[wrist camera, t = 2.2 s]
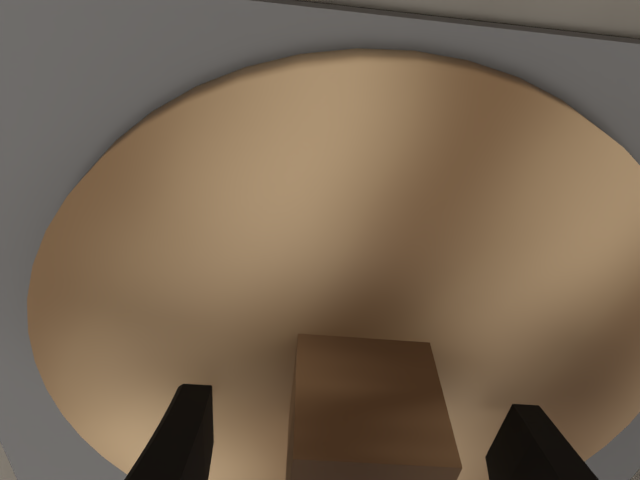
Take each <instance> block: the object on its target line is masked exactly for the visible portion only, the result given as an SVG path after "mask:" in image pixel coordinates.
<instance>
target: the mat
mask: <svg viewBox="0 0 640 480" xmlns="http://www.w3.org/2000/svg"><path fill="white" fill-rule="evenodd" d="M355 48H361V49H387V50H413V51H419V52H425V53H430V54H436V55H441V56H447V57H452V58H458V59H464V60H469V61H472V62H474V63H477V64H480V65H483V66H486V67H489V68H492V69H495V70H498V71H501V72H504V73H507V74H510V75H513V76H516V77H519V78H521V79H523V80H524V81H526V82H528V83H530V84H532V85H534V86H536V87H538V88H540V89H542V90H544V91H546V92H548V93H549V94H551V95H553V96H555V97H557V98H559V99H561V100H562V101H564V102H565V103H566V104H568V105H569V106H570V107H572V108H573V109H574V110H576V111H577V112H578V113H580V114H581V115H582V116H584V117H585V118H586V119H588V120H589V121H590V122H592V123H593V124H594V125H596V126H597V127H598V128H600V129H601V130H602V131H603V132H605V133H606V134H607V135H608V136H610V137H611V138H612V139H613V140H615V141H616V142H617V143H618V144H620V145H621V146H622V147H624V148H625V150H626V151H627V152H628V153H629V154H630V155H631V156H632V157H633V158H634V159H635V160H636V162H637V163H638V164H639V165H640V39H633V38H624V37H615V36H607V35H598V34H589V33H580V32H571V31H562V30H554V29H545V28H536V27H527V26H518V25H509V24H500V23H492V22H483V21H474V20H465V19H456V18H447V17H439V16H430V15H421V14H412V13H403V12H394V11H385V10H377V9H368V8H359V7H350V6H341V5H332V4H324V3H315V2H306V1H297V0H0V442H1V444H2V447H3V449H4V451H5V453H6V456H7V458H8V460H9V462H10V465H11V467H12V469H13V471H14V474H15V476H16V478H17V480H124V479H125V478H126V476H127V474H126V473H124V472H123V471H121V470H120V469H119V468H117V467H116V466H115V465H113V464H112V463H110V462H109V461H108V460H106V459H105V458H104V457H102V456H101V455H100V454H99V453H98V452H97V451H96V450H95V449H94V448H93V447H92V446H90V445H89V444H88V443H87V442H86V441H85V440H84V439H83V438H82V437H81V436H80V435H79V434H78V433H77V431H76V430H75V429H74V428H73V427H72V426H71V424H70V423H69V422H68V421H67V420H66V418H65V417H64V416H63V415H62V413H61V412H60V410H59V409H58V407H57V405H56V404H55V402H54V401H53V399H52V397H51V396H50V394H49V393H48V391H47V389H46V387H45V385H44V382H43V380H42V378H41V375H40V373H39V370H38V368H37V366H36V363H35V360H34V356H33V351H32V347H31V343H30V338H29V334H28V317H27V296H28V290H29V284H30V278H31V272H32V266H33V263H34V260H35V258H36V255H37V253H38V250H39V247H40V245H41V242H42V239H43V237H44V234H45V231H46V230H47V228H48V226H49V225H50V223H51V222H52V220H53V218H54V217H55V215H56V213H57V212H58V210H59V209H60V207H61V205H62V204H63V202H64V200H65V199H66V197H67V196H68V195H69V193H70V192H71V191H72V190H73V189H74V188H75V186H76V185H77V184H78V183H79V182H80V180H81V179H82V178H83V177H84V176H85V175H86V173H87V172H88V171H89V170H90V169H91V168H92V167H93V166H94V164H95V163H96V162H97V161H98V160H99V159H100V158H101V157H102V156H103V154H104V153H105V152H106V151H107V150H108V149H109V148H110V147H111V145H112V144H113V143H114V142H115V141H116V140H117V139H119V138H120V137H121V136H122V135H124V134H125V133H126V132H127V131H129V130H130V129H131V128H132V127H134V126H135V125H136V124H137V123H139V122H140V121H141V120H142V119H144V118H145V117H146V116H147V115H149V114H150V113H151V112H152V111H154V110H156V109H158V108H159V107H161V106H163V105H165V104H166V103H168V102H170V101H172V100H173V99H175V98H177V97H179V96H180V95H182V94H184V93H186V92H187V91H189V90H191V89H192V88H194V87H196V86H199V85H201V84H204V83H206V82H209V81H211V80H214V79H216V78H219V77H221V76H224V75H227V74H229V73H232V72H234V71H237V70H239V69H242V68H244V67H248V66H252V65H256V64H260V63H264V62H269V61H273V60H277V59H281V58H285V57H289V56H294V55H298V54H305V53H315V52H325V51H335V50H345V49H355ZM585 463H586V464H587V466H588V467H589V468H590V469H591V471H592V472H593V473H594V474H595V475H596V477H597V478H598V479H599V480H630V479H631V478H632V477H633V476H634V474H635V473H636V472H637V471H638V470H639V469H640V412H639V413H638V414H637V416H636V417H635V418H634V419H633V420H632V421H631V423H630V424H629V425H628V426H627V427H626V428H624V429H623V430H622V431H621V432H620V433H619V434H618V435H617V436H616V437H615V438H614V439H613V440H612V441H610V442H609V443H608V444H607V445H606V446H605V447H603V448H602V449H601V450H599V451H598V452H597V453H595V454H594V455H593V456H591V457H590V458H589V459H587V460H586V461H585Z"/></svg>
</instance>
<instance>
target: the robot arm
mask: <svg viewBox="0 0 640 480" xmlns="http://www.w3.org/2000/svg"><path fill="white" fill-rule="evenodd" d="M213 445H214V430H213V397H212V385H197V384H182V385H180V386H179V387H178V388H177V390H176V393H175V395H174V397H173V399H172V401H171V403H170V405H169V407H168V408H167V410H166V412H165V414H164V416H163V418H162V419H161V421H160V423H159V425H158V427H157V428H156V430H155V432H154V433H153V435H152V437H151V438H150V440H149V442H148V443H147V445H146V447H145V448H144V450H143V451H142V453H141V455H140V456H139V458H138V459H137V461H136V462H135V464H134V465H133V467H132V469H131V470H130V472H129V473H128V475H127V476H126V478H125V479H124V480H208V477H209V471H210V465H211V458H212V451H213ZM485 459H486V464H487V470H488V476H489V480H599V479H598V478H597V477H596V475H595V474H594V473H593V472H592V471H591V469H590V468H589V467H588V466H587V464H586V463H585V462H584V461H583V459H582V458H581V457H580V456H579V455H578V453H577V452H576V451H575V450H574V448H573V447H572V446H571V445H570V443H569V442H568V441H567V440H566V438H565V437H564V436H563V435H562V433H561V432H560V431H559V430H558V428H557V427H556V426H555V425H554V423H553V422H552V421H551V420H550V418H549V417H548V416H547V415H546V413H545V412H544V411H543V410H542V408H541V407H540V406H539V405H524V404H512V405H511V407H510V409H509V411H508V413H507V415H506V417H505V419H504V421H503V423H502V425H501V427H500V429H499V431H498V433H497V435H496V437H495V439H494V441H493V443H492V445H491V446H490V448H489V450H488V452H487V454H486V456H485Z"/></svg>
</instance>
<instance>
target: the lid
mask: <svg viewBox="0 0 640 480" xmlns="http://www.w3.org/2000/svg"><path fill="white" fill-rule="evenodd" d="M27 317H28V334H29V338H30V343H31V347H32V351H33V356H34V360H35V363H36V366H37V368H38V370H39V373H40V375H41V378H42V380H43V382H44V385H45V387H46V389H47V391H48V393H49V394H50V396H51V397H52V399H53V401H54V402H55V404H56V405H57V407H58V409H59V410H60V412H61V413H62V415H63V416H64V417H65V418H66V420H67V421H68V422H69V423H70V424H71V426H72V427H73V428H74V429H75V430H76V431H77V433H78V434H79V435H80V436H81V437H82V438H83V439H84V440H85V441H86V442H87V443H88V444H89V445H90V446H92V447H93V448H94V449H95V450H96V451H97V452H98V453H99V454H100V455H101V456H102V457H104V458H105V459H106V460H108V461H109V462H110V463H112V464H113V465H115V466H116V467H117V468H119V469H120V470H121V471H123V472H124V473H126V474H127V475H128V473H129V472H130V470H131V469H132V467H133V465H134V464H135V462H136V461H137V459H138V458H139V456H140V455H141V453H142V451H143V450H144V448H145V447H146V445H147V443H148V442H149V440H150V438H151V437H152V435H153V433H154V432H155V430H156V428H157V427H158V425H159V423H160V421H161V419H162V418H163V416H164V414H165V412H166V410H167V408H168V407H169V405H170V403H171V401H172V399H173V397H174V395H175V393H176V390H177V388H178V387H179V386H180V385H182V384H197V385H212V397H213V430H214V445H213V451H212V458H211V465H210V471H209V477H208V480H489V476H488V470H487V464H486V459H485V456H486V454H487V452H488V450H489V448H490V446H491V445H492V443H493V441H494V439H495V437H496V435H497V433H498V431H499V429H500V427H501V425H502V423H503V421H504V419H505V417H506V415H507V413H508V411H509V409H510V407H511V405H512V404H524V405H539V406H540V407H541V408H542V410H543V411H544V412H545V413H546V415H547V416H548V417H549V418H550V420H551V421H552V422H553V423H554V425H555V426H556V427H557V428H558V430H559V431H560V432H561V433H562V435H563V436H564V437H565V438H566V440H567V441H568V442H569V443H570V445H571V446H572V447H573V448H574V450H575V451H576V452H577V453H578V455H579V456H580V457H581V458H582V459H583V461H584V462H585V461H586V460H587V459H589V458H590V457H591V456H593V455H594V454H595V453H597V452H598V451H599V450H601V449H602V448H603V447H605V446H606V445H607V444H608V443H609V442H610V441H612V440H613V439H614V438H615V437H616V436H617V435H618V434H619V433H620V432H621V431H622V430H623V429H624V428H626V427H627V426H628V425H629V424H630V423H631V421H632V420H633V419H634V418H635V417H636V416H637V414H638V413H639V412H640V165H639V164H638V163H637V162H636V160H635V159H634V158H633V157H632V156H631V155H630V154H629V153H628V152H627V151H626V150H625V148H624V147H622V146H621V145H620V144H618V143H617V142H616V141H615V140H613V139H612V138H611V137H610V136H608V135H607V134H606V133H605V132H603V131H602V130H601V129H600V128H598V127H597V126H596V125H594V124H593V123H592V122H590V121H589V120H588V119H586V118H585V117H584V116H582V115H581V114H580V113H578V112H577V111H576V110H574V109H573V108H572V107H570V106H569V105H568V104H566V103H565V102H564V101H562V100H561V99H559V98H557V97H555V96H553V95H551V94H549V93H548V92H546V91H544V90H542V89H540V88H538V87H536V86H534V85H532V84H530V83H528V82H526V81H524V80H523V79H521V78H519V77H516V76H513V75H510V74H507V73H504V72H501V71H498V70H495V69H492V68H489V67H486V66H483V65H480V64H477V63H474V62H472V61H469V60H464V59H458V58H452V57H447V56H441V55H436V54H430V53H425V52H419V51H413V50H387V49H361V48H355V49H345V50H335V51H325V52H315V53H305V54H298V55H294V56H289V57H285V58H281V59H277V60H273V61H269V62H264V63H260V64H256V65H252V66H248V67H244V68H242V69H239V70H237V71H234V72H232V73H229V74H227V75H224V76H221V77H219V78H216V79H214V80H211V81H209V82H206V83H204V84H201V85H199V86H196V87H194V88H192V89H191V90H189V91H187V92H186V93H184V94H182V95H180V96H179V97H177V98H175V99H173V100H172V101H170V102H168V103H166V104H165V105H163V106H161V107H159V108H158V109H156V110H154V111H152V112H151V113H150V114H149V115H147V116H146V117H145V118H144V119H142V120H141V121H140V122H139V123H137V124H136V125H135V126H134V127H132V128H131V129H130V130H129V131H127V132H126V133H125V134H124V135H122V136H121V137H120V138H119V139H117V140H116V141H115V142H114V143H113V144H112V145H111V147H110V148H109V149H108V150H107V151H106V152H105V153H104V154H103V156H102V157H101V158H100V159H99V160H98V161H97V162H96V163H95V164H94V166H93V167H92V168H91V169H90V170H89V171H88V172H87V173H86V175H85V176H84V177H83V178H82V179H81V180H80V182H79V183H78V184H77V185H76V186H75V188H74V189H73V190H72V191H71V192H70V193H69V195H68V196H67V197H66V199H65V200H64V202H63V204H62V205H61V207H60V209H59V210H58V212H57V213H56V215H55V217H54V218H53V220H52V222H51V223H50V225H49V226H48V228H47V230H46V231H45V234H44V237H43V239H42V242H41V245H40V247H39V250H38V253H37V255H36V258H35V260H34V263H33V266H32V272H31V278H30V284H29V290H28V296H27Z"/></svg>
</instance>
